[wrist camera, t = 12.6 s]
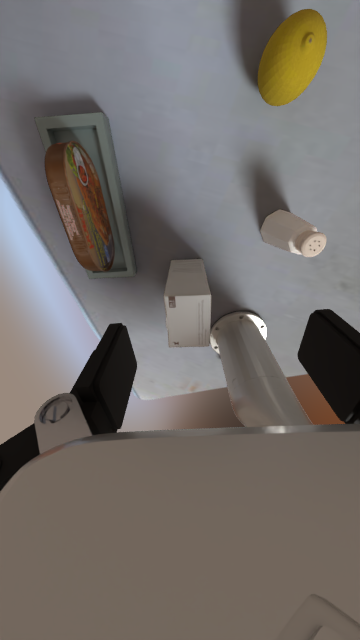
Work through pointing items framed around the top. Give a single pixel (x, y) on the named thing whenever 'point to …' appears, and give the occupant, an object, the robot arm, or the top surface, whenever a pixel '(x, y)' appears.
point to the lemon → (292, 57)
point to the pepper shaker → (292, 234)
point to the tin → (80, 204)
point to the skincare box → (187, 304)
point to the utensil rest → (99, 146)
